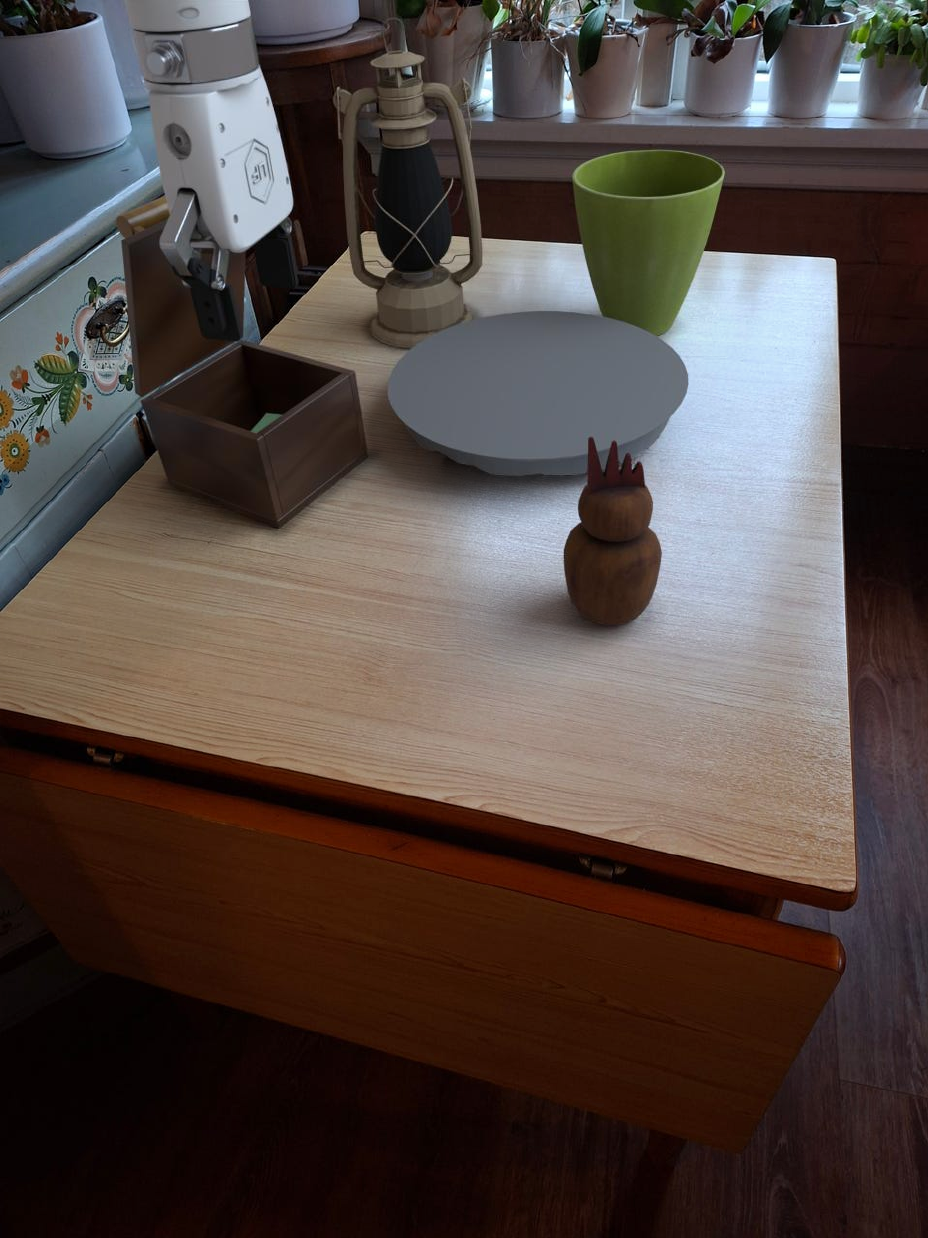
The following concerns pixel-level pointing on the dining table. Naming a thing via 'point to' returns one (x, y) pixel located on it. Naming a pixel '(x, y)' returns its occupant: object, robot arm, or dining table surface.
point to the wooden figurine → (612, 543)
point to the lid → (164, 301)
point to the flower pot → (645, 230)
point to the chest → (275, 456)
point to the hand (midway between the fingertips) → (252, 310)
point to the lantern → (410, 202)
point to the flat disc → (537, 391)
